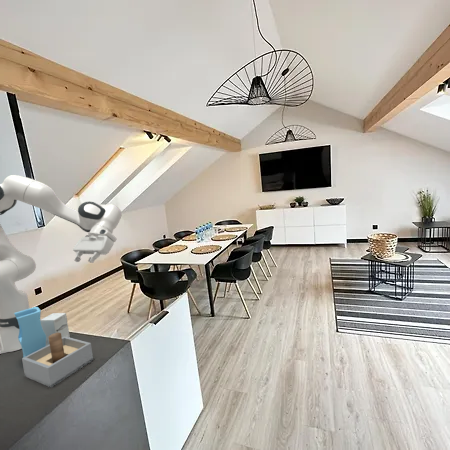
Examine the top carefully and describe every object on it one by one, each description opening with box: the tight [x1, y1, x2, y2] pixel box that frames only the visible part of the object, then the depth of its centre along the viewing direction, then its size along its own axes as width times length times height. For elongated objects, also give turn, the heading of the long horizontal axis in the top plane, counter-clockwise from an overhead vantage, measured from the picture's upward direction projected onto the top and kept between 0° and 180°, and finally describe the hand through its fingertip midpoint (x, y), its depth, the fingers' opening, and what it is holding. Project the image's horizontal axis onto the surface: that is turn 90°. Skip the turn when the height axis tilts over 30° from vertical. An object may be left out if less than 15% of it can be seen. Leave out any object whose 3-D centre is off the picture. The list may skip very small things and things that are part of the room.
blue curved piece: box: [14, 306, 46, 358], centre depth 109 cm, size 8×8×20 cm
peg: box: [48, 333, 65, 363], centre depth 102 cm, size 4×4×12 cm
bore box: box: [21, 336, 94, 389], centre depth 102 cm, size 16×16×7 cm
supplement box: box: [40, 312, 71, 346], centre depth 121 cm, size 7×7×13 cm
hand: (83, 261), depth 118 cm, fingers open, 8 cm apart
